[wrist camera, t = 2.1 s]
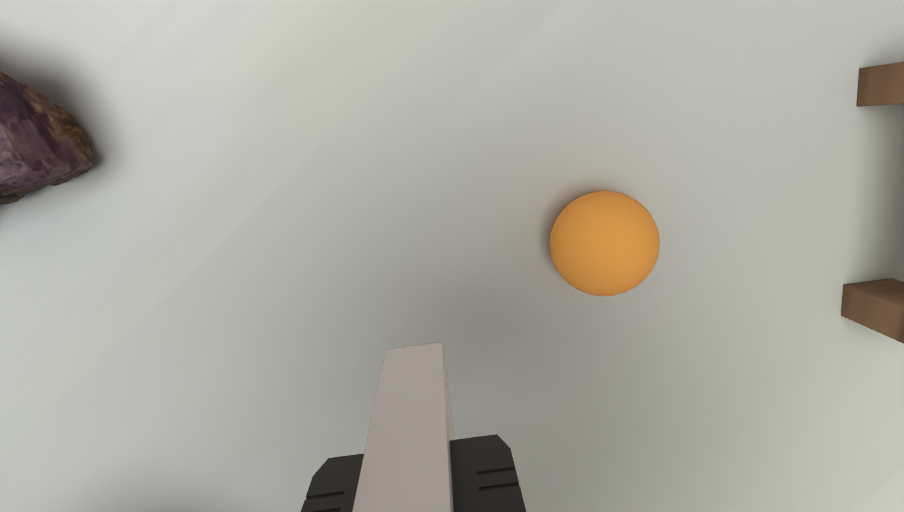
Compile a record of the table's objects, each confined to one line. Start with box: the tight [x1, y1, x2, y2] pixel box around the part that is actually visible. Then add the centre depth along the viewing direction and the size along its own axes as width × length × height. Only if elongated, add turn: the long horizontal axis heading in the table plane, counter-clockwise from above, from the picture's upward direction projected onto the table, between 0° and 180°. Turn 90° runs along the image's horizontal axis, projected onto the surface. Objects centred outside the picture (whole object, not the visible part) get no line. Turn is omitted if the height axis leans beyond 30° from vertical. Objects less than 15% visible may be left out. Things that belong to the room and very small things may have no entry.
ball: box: [550, 191, 660, 296], centre depth 26 cm, size 6×6×6 cm
